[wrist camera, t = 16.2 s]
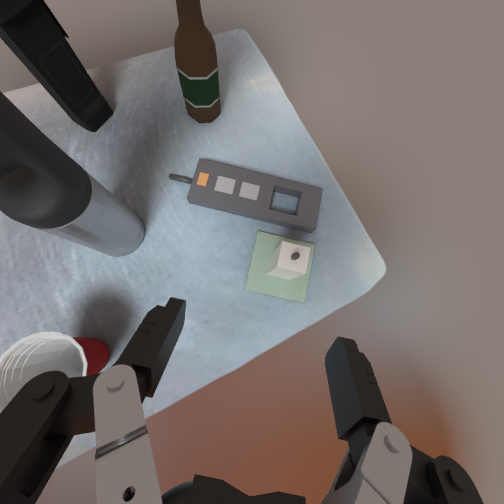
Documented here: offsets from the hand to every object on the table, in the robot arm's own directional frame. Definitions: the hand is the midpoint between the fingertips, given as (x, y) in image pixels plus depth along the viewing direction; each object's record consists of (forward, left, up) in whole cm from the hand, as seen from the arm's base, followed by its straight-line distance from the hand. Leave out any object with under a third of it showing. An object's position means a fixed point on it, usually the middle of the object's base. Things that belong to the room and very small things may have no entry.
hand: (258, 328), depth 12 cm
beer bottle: (-18, +41, -33) cm, 55 cm away
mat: (+6, +10, -33) cm, 35 cm away
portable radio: (-40, +33, -33) cm, 61 cm away
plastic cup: (-23, -13, -33) cm, 42 cm away
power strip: (-5, +23, -33) cm, 40 cm away
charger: (+6, +10, -32) cm, 34 cm away
